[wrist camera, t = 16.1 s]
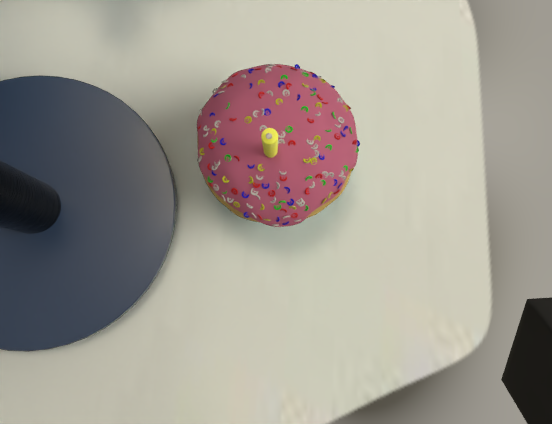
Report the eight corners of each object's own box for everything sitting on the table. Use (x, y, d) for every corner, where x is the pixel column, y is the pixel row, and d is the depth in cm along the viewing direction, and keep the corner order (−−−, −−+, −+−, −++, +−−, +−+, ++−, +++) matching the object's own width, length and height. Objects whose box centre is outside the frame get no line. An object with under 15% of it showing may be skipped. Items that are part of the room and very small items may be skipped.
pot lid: (-109, 353, 27) (-287, 387, 18) (-86, 84, 30) (-235, -5, 21) (178, 343, 28) (143, 370, 19) (178, 82, 31) (147, -4, 21)
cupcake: (316, 253, 29) (361, 231, 18) (182, 207, 29) (136, 153, 18) (358, 123, 31) (426, 21, 19) (230, 79, 31) (217, -51, 19)
